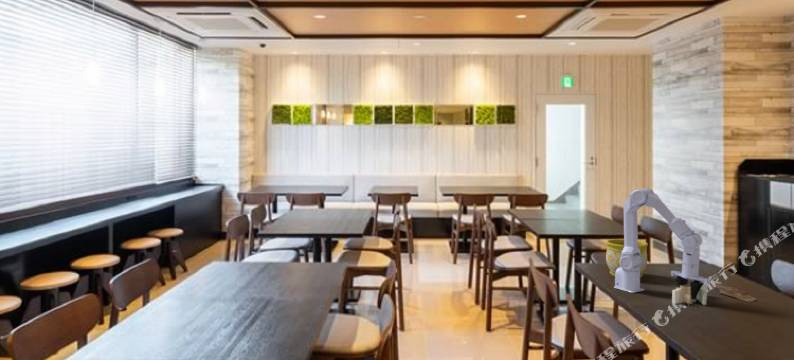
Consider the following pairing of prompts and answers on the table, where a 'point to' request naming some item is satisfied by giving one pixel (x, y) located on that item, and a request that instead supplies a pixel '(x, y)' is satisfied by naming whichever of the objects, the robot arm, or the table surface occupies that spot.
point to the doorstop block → (687, 293)
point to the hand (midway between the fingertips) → (688, 297)
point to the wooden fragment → (735, 293)
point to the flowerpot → (615, 254)
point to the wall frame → (678, 294)
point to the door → (702, 296)
